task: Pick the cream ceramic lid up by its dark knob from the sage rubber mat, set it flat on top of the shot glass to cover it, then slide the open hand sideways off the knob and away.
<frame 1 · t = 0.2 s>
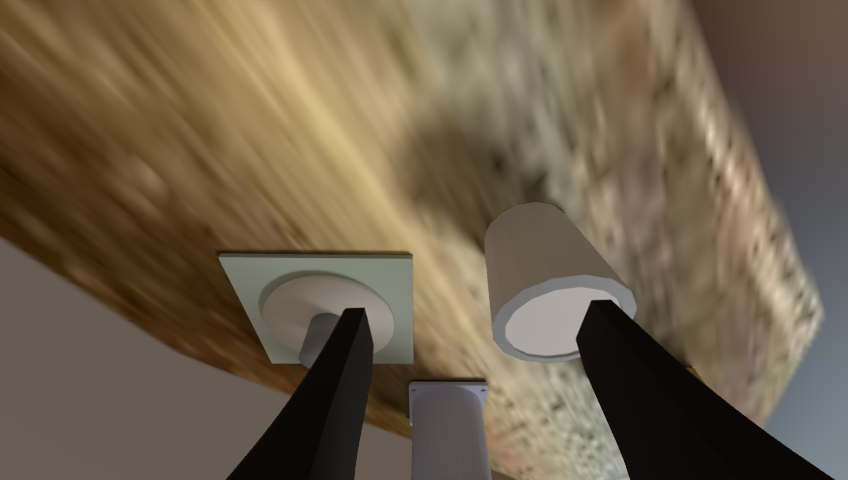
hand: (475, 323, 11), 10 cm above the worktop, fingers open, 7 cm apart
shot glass: (525, 236, 21), on the worktop
mat: (332, 315, 26), on the worktop
lid: (331, 319, 26), resting on mat
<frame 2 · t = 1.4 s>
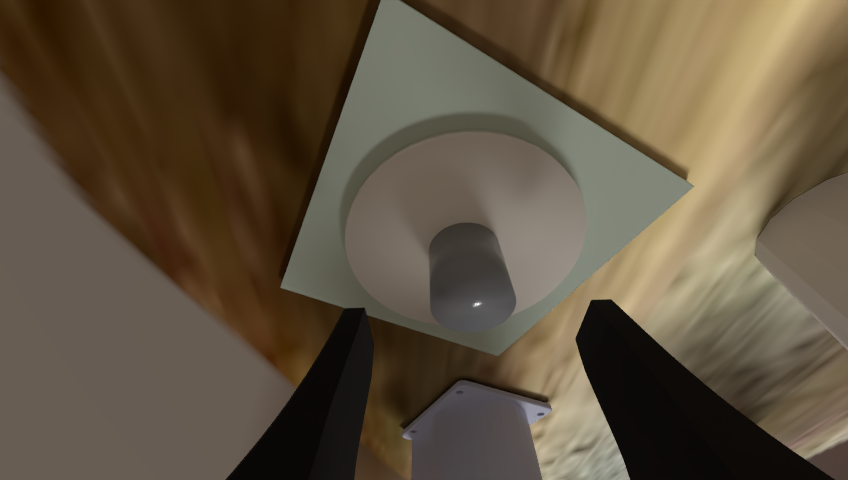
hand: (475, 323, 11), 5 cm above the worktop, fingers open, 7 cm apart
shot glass: (825, 221, 14), on the worktop
mat: (461, 237, 14), on the worktop
lid: (462, 242, 14), resting on mat
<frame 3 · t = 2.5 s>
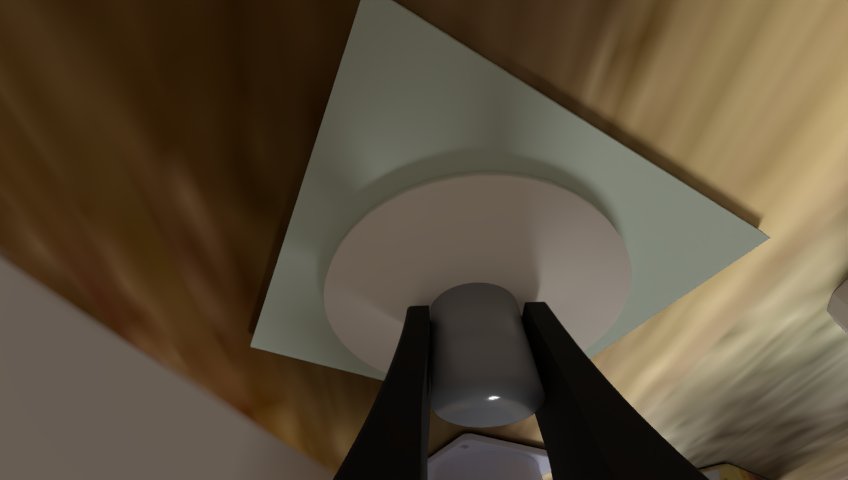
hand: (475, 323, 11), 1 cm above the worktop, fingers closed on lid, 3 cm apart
candy box: (722, 476, 25), on the worktop
mat: (470, 291, 12), on the worktop
lid: (471, 300, 11), resting on mat, touching gripper
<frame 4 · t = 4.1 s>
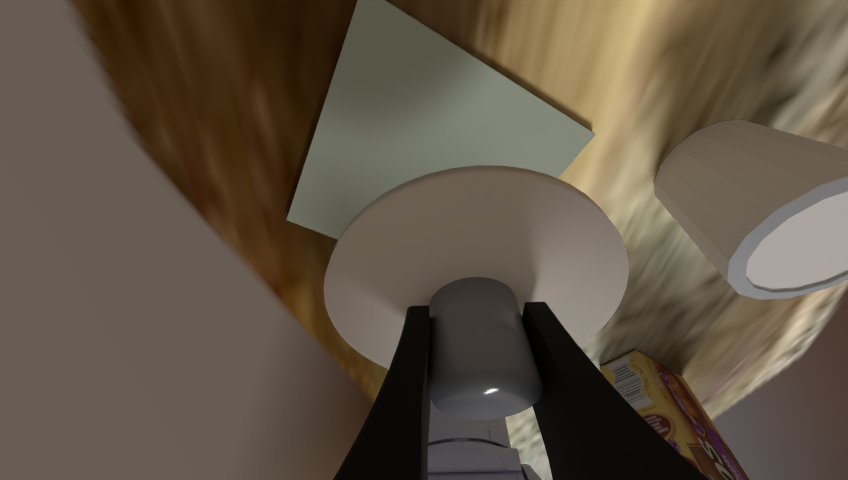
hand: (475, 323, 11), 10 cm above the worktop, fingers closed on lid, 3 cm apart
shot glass: (704, 167, 19), on the worktop
candy box: (638, 370, 32), on the worktop
mat: (427, 177, 19), on the worktop
lid: (470, 294, 12), point 9 cm above the worktop, touching gripper
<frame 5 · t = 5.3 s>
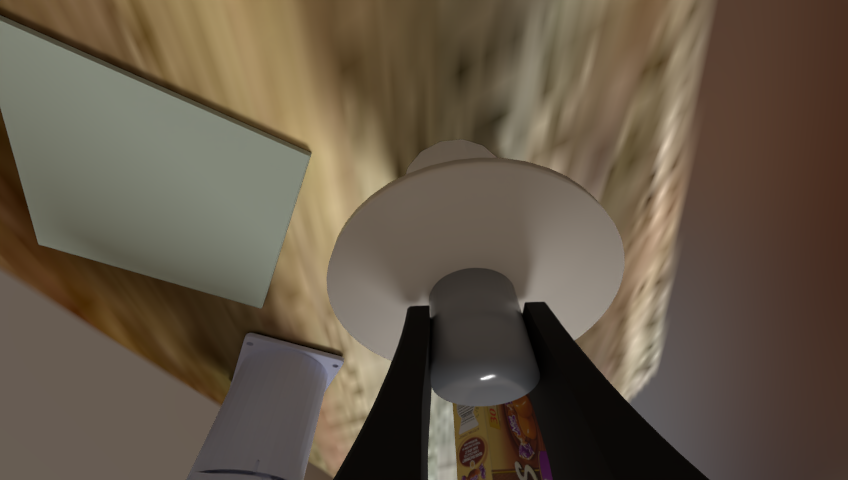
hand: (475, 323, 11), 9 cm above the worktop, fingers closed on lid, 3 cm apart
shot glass: (453, 187, 18), on the worktop
candy box: (497, 387, 31), on the worktop
mat: (165, 200, 18), on the worktop
lid: (469, 286, 12), point 7 cm above the worktop, touching gripper
when the fingers open (8 cm above the worktop, at t = 5.7 s): lid stays where it is, resting on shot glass.
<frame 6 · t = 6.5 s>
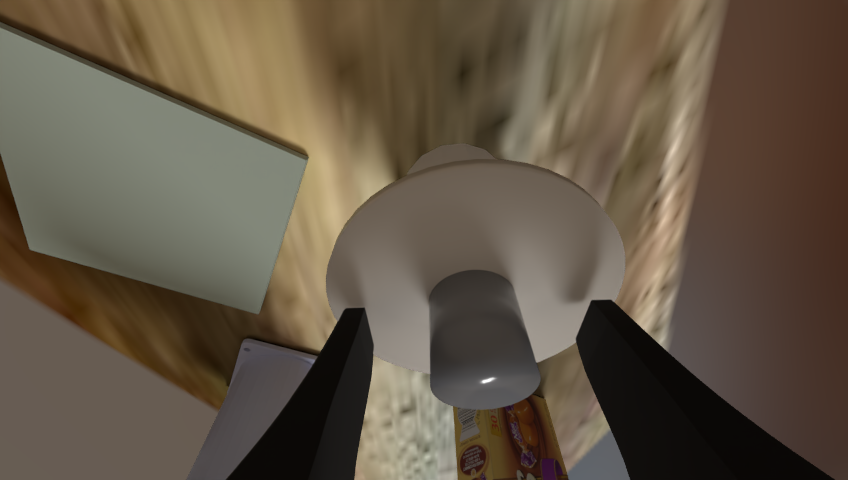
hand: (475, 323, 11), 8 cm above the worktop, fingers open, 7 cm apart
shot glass: (454, 192, 17), on the worktop, touching lid
candy box: (498, 392, 31), on the worktop
mat: (159, 205, 18), on the worktop
lid: (469, 288, 12), point 7 cm above the worktop, touching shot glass
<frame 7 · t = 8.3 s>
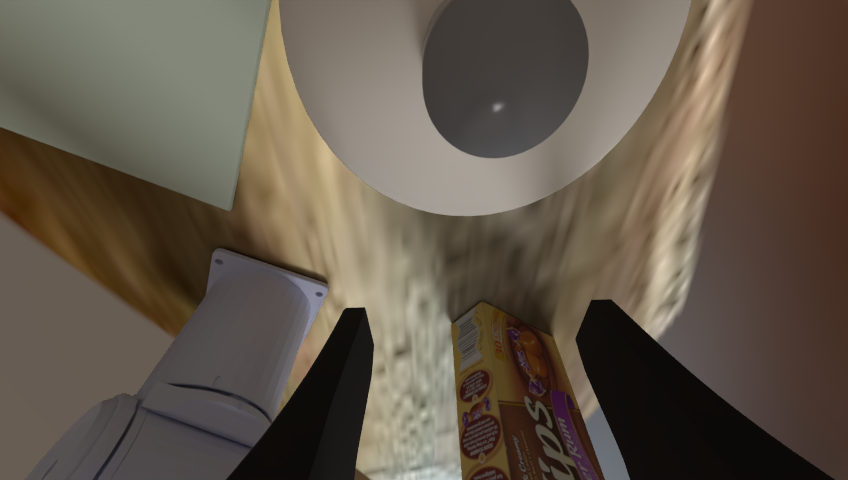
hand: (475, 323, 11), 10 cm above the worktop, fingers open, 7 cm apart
candy box: (502, 329, 28), on the worktop
mat: (100, 43, 15), on the worktop
lid: (477, 50, 9), point 7 cm above the worktop, touching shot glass
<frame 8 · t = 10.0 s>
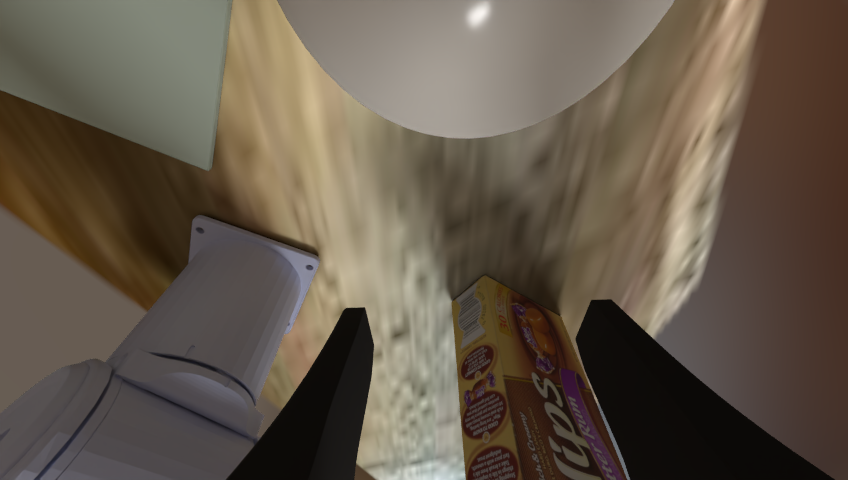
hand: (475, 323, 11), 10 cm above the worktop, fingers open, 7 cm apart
candy box: (505, 308, 26), on the worktop
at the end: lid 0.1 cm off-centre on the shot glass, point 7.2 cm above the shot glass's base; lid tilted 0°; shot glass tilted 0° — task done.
